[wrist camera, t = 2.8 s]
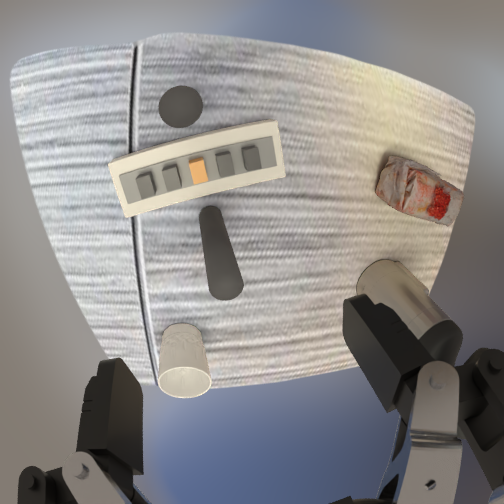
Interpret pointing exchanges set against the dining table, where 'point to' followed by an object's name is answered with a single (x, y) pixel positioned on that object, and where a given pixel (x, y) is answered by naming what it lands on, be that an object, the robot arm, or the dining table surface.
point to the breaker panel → (194, 147)
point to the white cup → (183, 362)
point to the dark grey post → (180, 106)
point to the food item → (418, 191)
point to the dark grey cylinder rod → (219, 256)
